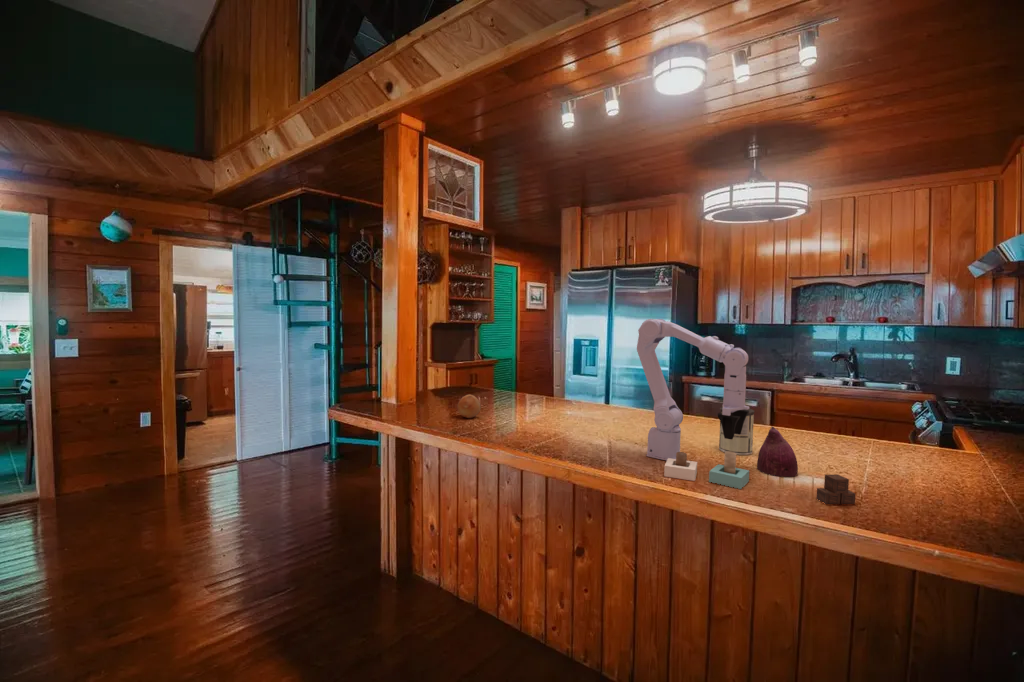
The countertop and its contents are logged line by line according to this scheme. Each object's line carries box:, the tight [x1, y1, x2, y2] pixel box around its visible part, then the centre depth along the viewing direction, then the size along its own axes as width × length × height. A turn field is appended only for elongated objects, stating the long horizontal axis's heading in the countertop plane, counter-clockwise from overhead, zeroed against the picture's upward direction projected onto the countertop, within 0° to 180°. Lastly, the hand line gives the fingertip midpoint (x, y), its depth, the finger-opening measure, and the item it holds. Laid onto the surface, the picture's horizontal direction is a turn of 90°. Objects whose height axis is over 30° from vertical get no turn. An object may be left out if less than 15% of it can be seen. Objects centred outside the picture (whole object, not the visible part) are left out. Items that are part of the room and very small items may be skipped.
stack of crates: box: [815, 473, 856, 505], centre depth 115 cm, size 15×15×7 cm
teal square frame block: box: [708, 463, 750, 490], centre depth 127 cm, size 8×8×3 cm
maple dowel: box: [723, 451, 737, 474], centre depth 127 cm, size 3×3×8 cm
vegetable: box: [756, 426, 799, 478], centre depth 135 cm, size 10×10×15 cm
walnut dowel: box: [676, 451, 688, 467], centre depth 132 cm, size 3×3×6 cm
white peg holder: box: [663, 458, 698, 482], centre depth 132 cm, size 8×8×3 cm
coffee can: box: [718, 406, 755, 456], centre depth 156 cm, size 10×10×14 cm
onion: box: [456, 393, 482, 419], centre depth 201 cm, size 10×10×10 cm
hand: (732, 436), depth 137 cm, fingers open, 7 cm apart
